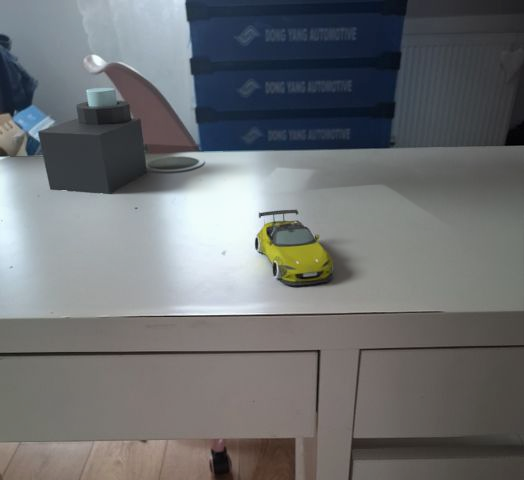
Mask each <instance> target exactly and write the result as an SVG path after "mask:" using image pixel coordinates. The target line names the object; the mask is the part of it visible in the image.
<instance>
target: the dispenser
mask: <svg viewBox="0 0 524 480" xmlns="http://www.w3.org/2000/svg"><path fill="white" fill-rule="evenodd" d="M75 108H76V114H77V118H74V119H72V120H69V121H66V122H63V123H60V124H57V125H53V126H50V127H46V128H43V129H41V130H38V131H37V134H38V139H39V143H40V148H41V153H42V157H43V158H42V159H43V162H44V167H45V171H46V176H47V180H48V185H49V189H50V191H61V190H67V191H66V192H74V191H75V193H86V194H87V193H90V194H100V193H103V194H102V195H111V194H113V193H114V192H116V191H118V190H120V189H122V188H124V187H125V186H126V185H128V184H130V183H133V181H135V180H137V179H139V178H141V177H142V176H144V175H145V174H147V173H148V170H147V162H146V153H145V145H144V144H145V143H144V137H143V136H144V135H143V129H142V128H143V127H142V121H141V118H138V117H137V118H136V117H135V118H134V117H132V114H131V106H130V102H129V101H125V100H118V99H117V105H114V106H105V107H91V106H89V104H88V101H85V102H80V103H77V104H76V106H75ZM112 192H113V193H112Z"/></svg>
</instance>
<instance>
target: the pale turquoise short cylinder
mask: <svg viewBox="0 0 524 480" xmlns="http://www.w3.org/2000/svg"><path fill="white" fill-rule="evenodd" d="M86 98H87V102H88V104H89V106H91V107H105V106H114V105H117V100H118V99H117V93H116V88H113V87H93V88H88V89H86Z"/></svg>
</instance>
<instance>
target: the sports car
mask: <svg viewBox="0 0 524 480" xmlns="http://www.w3.org/2000/svg"><path fill="white" fill-rule="evenodd" d="M287 214H295V215H296V216H297V215H299V211H298V209H297V208H295V209H282V210H281V209H280V210H272V211H264V212H258V218H259V219H261V218H262V217H266V216H272V217H273V219H272V220H273V221H270V222H265V221H266V220H264V221H263V222H264V224H263V225H262V226H261V227H262V228H261V229H260V231H259V232H257V234H256V236H255V239H254V248H255V252H256V253H262V254H264V255H265V256H266V258H267V259H268V260H269V262H270V264H271V265H272V274H273V277H274V279H276V280H277V279H278V280H279V282H280V283H281V284H284V285H288V286H294V287H295V286H306V285H316V284H323V283H328V282H330V281H331V280H332V279H333V276H334V274H333V271H334V261H333V257H332V256H331V254H330V253H329V252H328V251H326V250H325V249H324V247H323V246H322V245H321V244H320V243H319V242H318V240H319V239H320V236H321V235H319V234H315V235H313V233H312V232H311V230H310V228H309V227H308V226H305V225H304V224H303V223H302V222H301V221H299V220H290V221H289V220H285V215H287ZM276 215H282V217H283V218H282V220H277V221H275V216H276Z"/></svg>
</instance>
